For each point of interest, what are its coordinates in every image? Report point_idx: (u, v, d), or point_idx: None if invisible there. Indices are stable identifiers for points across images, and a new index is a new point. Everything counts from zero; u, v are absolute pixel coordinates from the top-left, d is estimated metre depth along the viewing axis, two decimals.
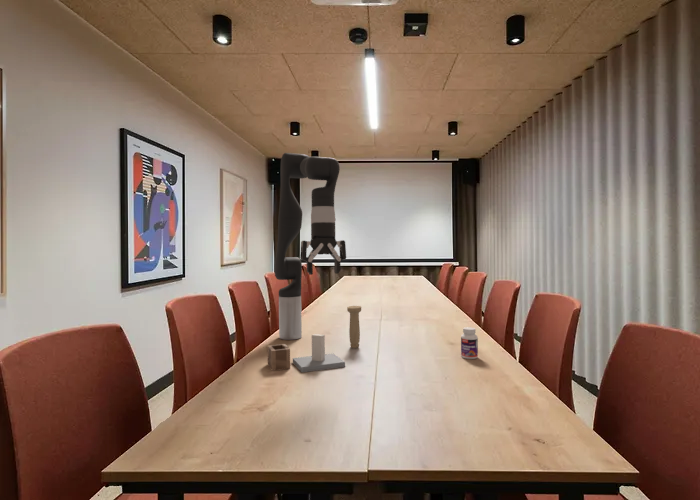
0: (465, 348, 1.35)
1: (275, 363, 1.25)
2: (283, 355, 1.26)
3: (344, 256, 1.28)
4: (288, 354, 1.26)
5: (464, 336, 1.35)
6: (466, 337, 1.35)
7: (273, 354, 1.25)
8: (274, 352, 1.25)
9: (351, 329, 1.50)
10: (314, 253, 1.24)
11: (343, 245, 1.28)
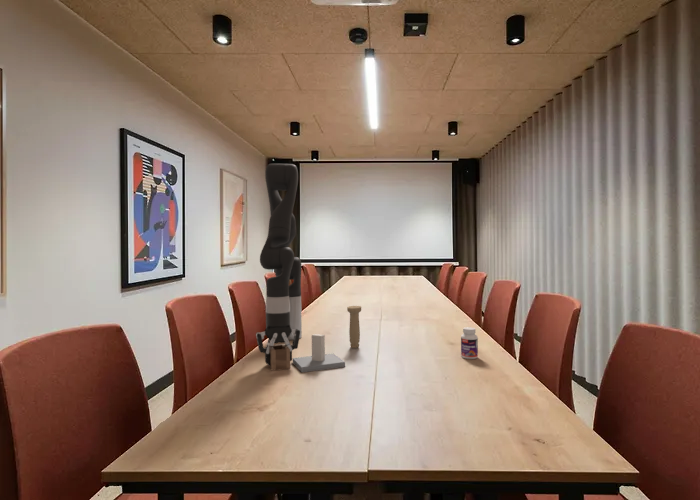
0: (465, 348, 1.35)
1: (275, 363, 1.25)
2: (283, 355, 1.26)
3: (295, 346, 1.30)
4: (288, 354, 1.26)
5: (464, 336, 1.35)
6: (466, 337, 1.35)
7: (273, 354, 1.25)
8: (274, 352, 1.25)
9: (351, 329, 1.50)
10: (270, 344, 1.26)
11: (297, 335, 1.30)
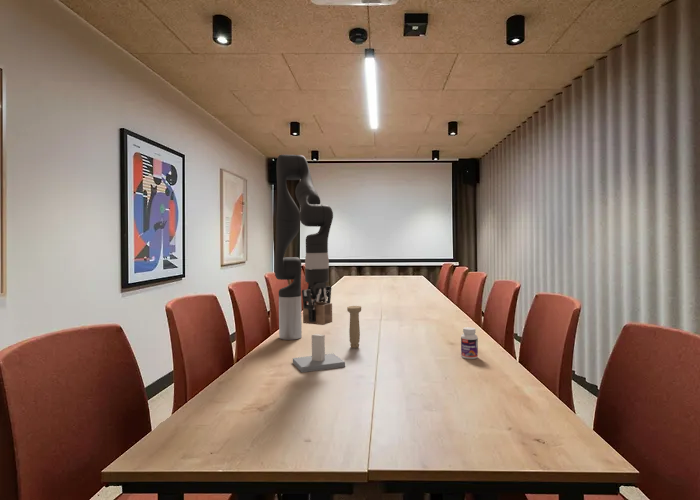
0: (465, 348, 1.35)
1: (324, 317, 1.27)
2: (329, 310, 1.29)
3: (329, 301, 1.34)
4: (331, 308, 1.30)
5: (464, 336, 1.35)
6: (466, 337, 1.35)
7: (323, 309, 1.26)
8: (324, 307, 1.26)
9: (351, 329, 1.50)
10: (317, 300, 1.27)
11: (330, 291, 1.35)
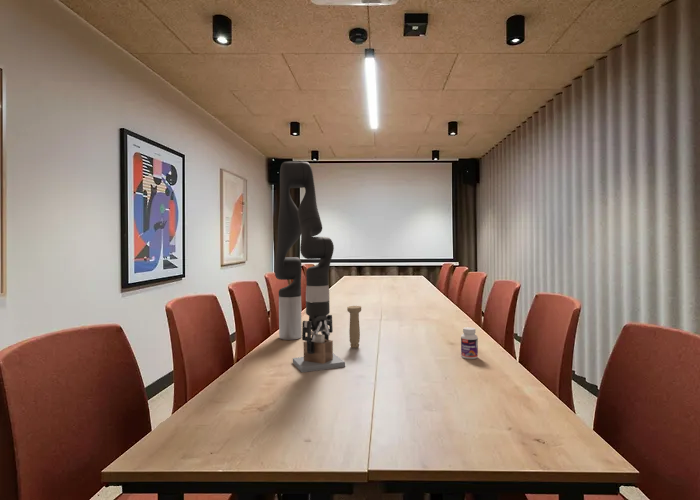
0: (465, 348, 1.35)
1: (325, 356, 1.27)
2: (329, 347, 1.29)
3: (331, 330, 1.35)
4: (331, 345, 1.30)
5: (464, 336, 1.35)
6: (466, 337, 1.35)
7: (324, 347, 1.26)
8: (324, 345, 1.27)
9: (351, 329, 1.50)
10: (316, 332, 1.26)
11: (331, 319, 1.35)
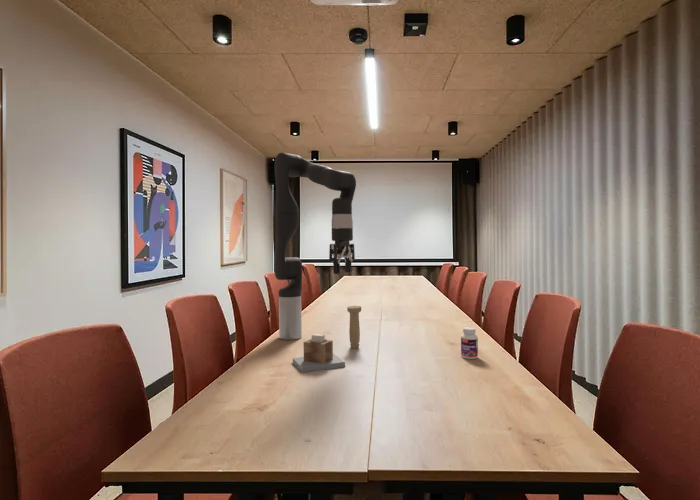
0: (465, 348, 1.35)
1: (325, 356, 1.27)
2: (329, 347, 1.29)
3: (354, 257, 1.50)
4: (331, 345, 1.30)
5: (464, 336, 1.35)
6: (466, 337, 1.35)
7: (324, 347, 1.26)
8: (324, 345, 1.27)
9: (351, 329, 1.50)
10: (341, 255, 1.41)
11: (353, 248, 1.50)
